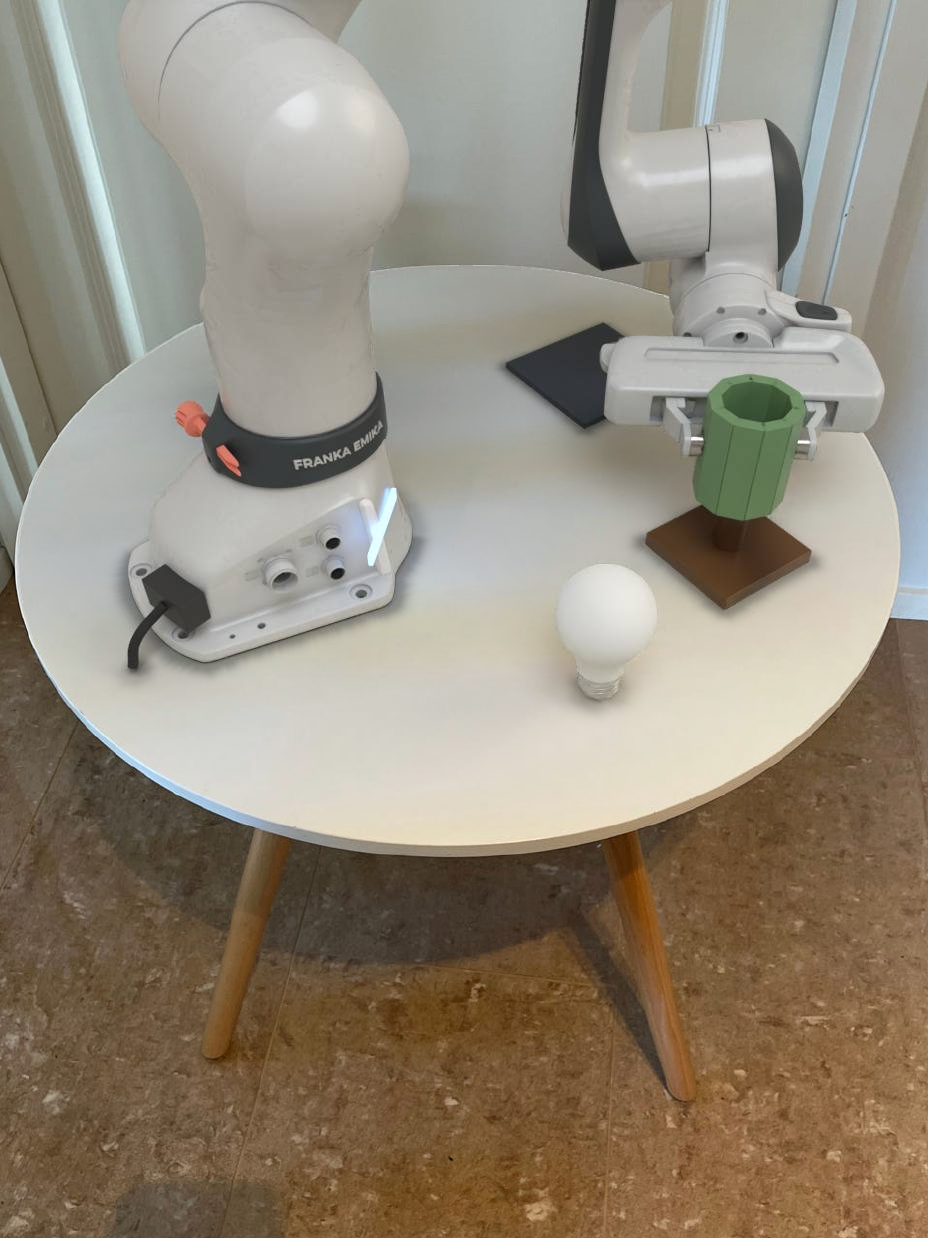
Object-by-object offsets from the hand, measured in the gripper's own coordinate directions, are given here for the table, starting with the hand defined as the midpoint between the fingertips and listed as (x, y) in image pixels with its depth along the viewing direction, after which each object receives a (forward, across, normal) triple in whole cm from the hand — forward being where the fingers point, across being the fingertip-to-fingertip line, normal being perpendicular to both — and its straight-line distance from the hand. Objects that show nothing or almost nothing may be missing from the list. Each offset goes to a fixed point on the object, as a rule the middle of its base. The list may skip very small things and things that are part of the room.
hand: (749, 450), depth 74 cm
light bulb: (+14, -10, +11) cm, 20 cm away
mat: (-25, -10, +11) cm, 29 cm away
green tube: (-1, 0, +4) cm, 4 cm away
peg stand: (-1, 0, +11) cm, 11 cm away
